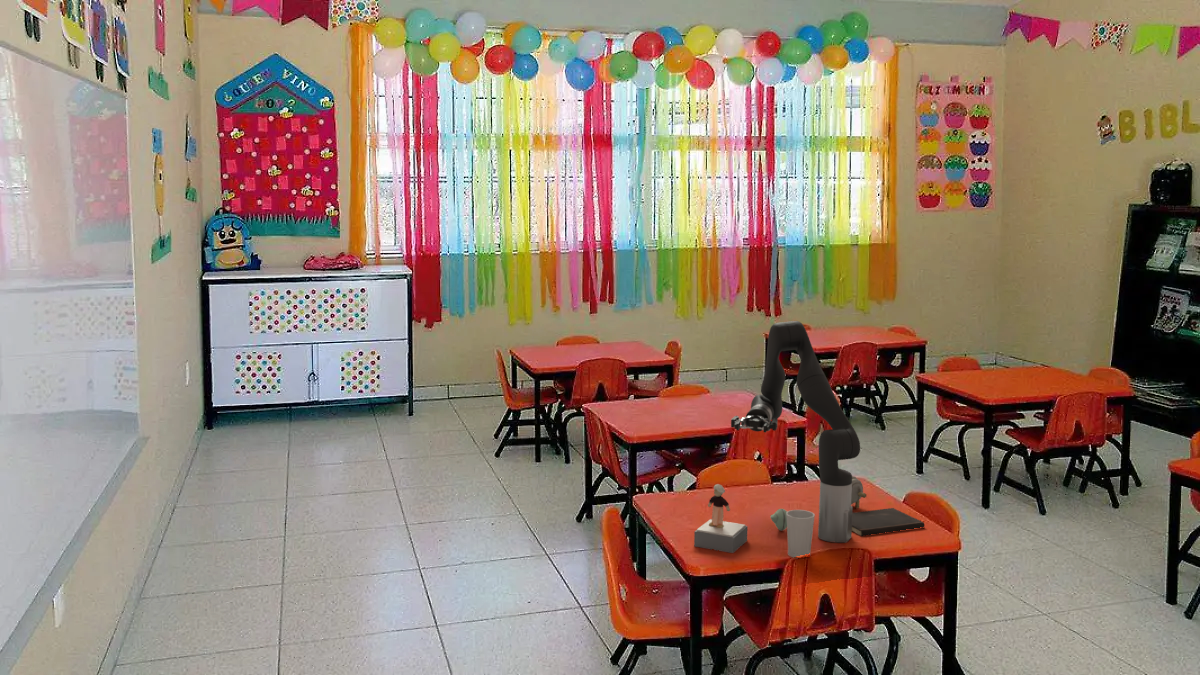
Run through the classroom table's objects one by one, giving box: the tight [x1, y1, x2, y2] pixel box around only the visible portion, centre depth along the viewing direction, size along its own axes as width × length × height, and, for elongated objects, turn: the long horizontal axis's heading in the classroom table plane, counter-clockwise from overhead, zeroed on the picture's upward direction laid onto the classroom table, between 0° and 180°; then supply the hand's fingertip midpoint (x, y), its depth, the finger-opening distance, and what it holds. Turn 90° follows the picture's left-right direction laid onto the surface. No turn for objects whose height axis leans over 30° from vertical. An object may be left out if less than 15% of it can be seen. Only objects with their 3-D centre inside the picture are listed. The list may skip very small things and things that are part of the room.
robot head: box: [770, 508, 788, 531], centre depth 319 cm, size 8×4×7 cm, turn 104°
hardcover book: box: [852, 507, 925, 537], centre depth 326 cm, size 16×23×2 cm
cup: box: [786, 509, 816, 558], centre depth 298 cm, size 8×8×12 cm
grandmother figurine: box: [707, 483, 731, 528], centre depth 307 cm, size 8×4×13 cm, turn 58°
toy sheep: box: [851, 475, 867, 509], centre depth 343 cm, size 11×17×11 cm, turn 39°
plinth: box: [693, 518, 748, 554], centre depth 307 cm, size 12×12×5 cm
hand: (750, 428), depth 324 cm, fingers open, 8 cm apart
